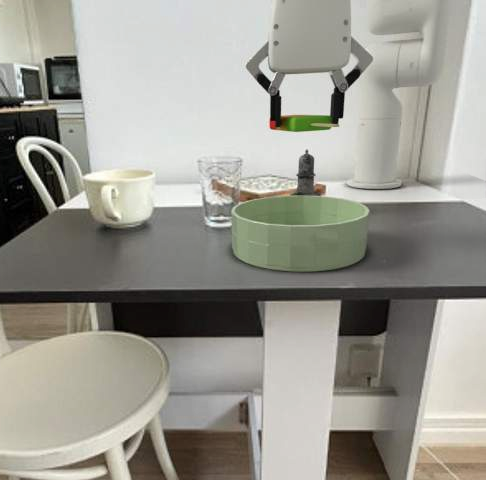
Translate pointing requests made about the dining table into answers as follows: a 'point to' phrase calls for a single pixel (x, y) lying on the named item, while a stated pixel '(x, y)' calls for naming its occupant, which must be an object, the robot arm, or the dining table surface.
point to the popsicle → (304, 123)
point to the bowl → (300, 232)
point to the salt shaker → (306, 176)
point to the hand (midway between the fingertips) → (305, 124)
